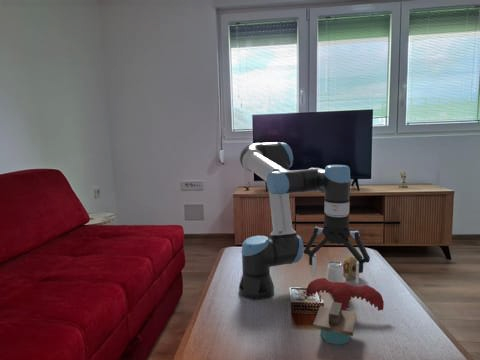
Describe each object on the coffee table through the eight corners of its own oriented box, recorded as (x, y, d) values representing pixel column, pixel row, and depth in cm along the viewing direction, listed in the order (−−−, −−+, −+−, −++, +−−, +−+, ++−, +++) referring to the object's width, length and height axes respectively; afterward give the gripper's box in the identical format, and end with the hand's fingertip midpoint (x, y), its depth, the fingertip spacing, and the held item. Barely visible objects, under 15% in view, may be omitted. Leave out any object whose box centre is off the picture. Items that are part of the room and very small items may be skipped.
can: (343, 294, 133) (344, 267, 131) (327, 293, 134) (328, 266, 132) (342, 287, 139) (342, 261, 137) (326, 286, 140) (327, 260, 139)
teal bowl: (318, 340, 104) (318, 325, 103) (324, 325, 112) (324, 312, 111) (347, 347, 100) (347, 332, 99) (350, 331, 108) (351, 317, 107)
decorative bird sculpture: (382, 333, 113) (384, 291, 121) (382, 327, 106) (384, 283, 114) (304, 316, 126) (310, 279, 133) (299, 309, 119) (306, 271, 126)
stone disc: (347, 283, 143) (348, 261, 142) (340, 280, 146) (341, 259, 145) (361, 276, 149) (362, 256, 148) (354, 274, 152) (355, 254, 151)
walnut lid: (313, 327, 102) (313, 313, 102) (320, 309, 113) (320, 296, 112) (352, 336, 97) (353, 321, 97) (356, 316, 108) (356, 303, 107)
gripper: (294, 213, 102) (294, 276, 105) (379, 221, 92) (376, 290, 95) (300, 208, 109) (300, 267, 112) (380, 214, 98) (377, 279, 102)
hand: (335, 278), depth 104 cm, fingers open, 13 cm apart
